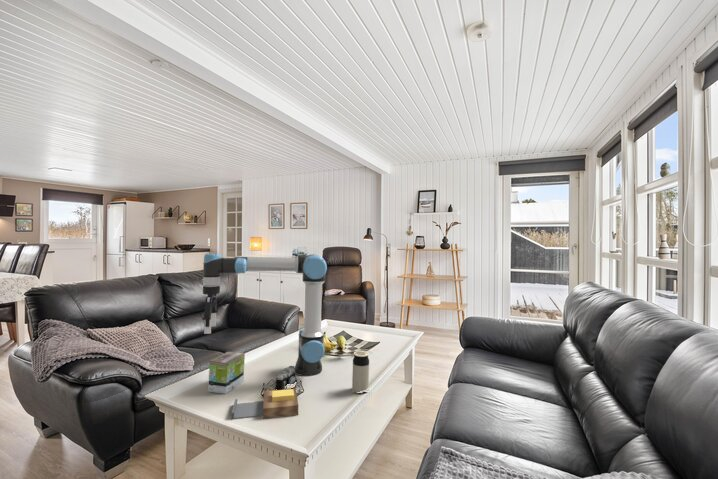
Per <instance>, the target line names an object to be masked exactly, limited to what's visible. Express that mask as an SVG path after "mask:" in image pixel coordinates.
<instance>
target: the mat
mask: <svg viewBox="0 0 718 479" xmlns="http://www.w3.org/2000/svg"><path fill="white" fill-rule="evenodd" d="M263 403H264V400H263V401H262V400H261V401H253V402H252V401H251V402H242V403H238V399H237V398H235V399H234V403H233V406H232V411H231V420H238V419H249V418H254V417H255V418H256V417H257V418H258V417H263Z"/></svg>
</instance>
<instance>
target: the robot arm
mask: <svg viewBox="0 0 718 479" xmlns="http://www.w3.org/2000/svg"><path fill="white" fill-rule="evenodd" d="M203 258H204V259H203V275H202V276H203V278H202V279H201V281H202V284H203V287H202V294H203V295H207V297H205V304H204V306H205V307H204V312H203V317H202V320H203V322H204V327H203V329H204V330H203V334H204V335H206V334H207V335H208V334H209V335H210V334H212V327H216V326H217V313H219V310H218V309H217V308H218V304H217V295H218V294H220V292H221V286H220V285H221V274H237V275H240V274H245V273H247V272H295V273H296V274H302V283H303V284H304V288H305V289H304V290H305V291H304V324H303V326H304V328H301V329H300V330H298V353H297V354H298V355H297V359H296V362H295V365H294V367H295V374H297V375H300V376H308V377H309V376H314V375H315V374H316V375H318V374H317V373H319V372H320V373H322V371H323V364H322V360H321V359H322V358H323V357H324V355H325V352H326V351H325V350H326V349H325V345H324V342H325V341H324V336H325V335H324V332H323V331H322V298H323V285H324V283H325V282H326V273H327V269H328V266H327V262H326V260H325V259H324V258H323V257H321V255H318V254H317V255H316V254H307V255H297V256H295V257H279V256H278V257H271V256H268V257H267V256H233V257H222V255H221V253H206V254H204V255H203ZM320 373H319V374H320Z"/></svg>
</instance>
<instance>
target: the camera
mask: <svg viewBox="0 0 718 479" xmlns="http://www.w3.org/2000/svg"><path fill="white" fill-rule="evenodd" d="M295 382H297V383H298V379H297V378H296V372H295V365H289V366H287V367H286V368H284V369H283V370H282V372H280V374H279V375H276V377H275V390H276V389H277V390H284V389H285V386H286V385H287V384H294V383H295Z"/></svg>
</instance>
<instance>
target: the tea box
mask: <svg viewBox="0 0 718 479" xmlns="http://www.w3.org/2000/svg"><path fill="white" fill-rule="evenodd" d="M245 354H246V353H244V352H235V351H226V352H224V353H222V354H220V355H219V356H217V357H214V358H212V359H211V360H209V368H208V386H207V392H208V393H209V392H210V393H216V394H224V395H226V394H228V393H230V391H232V390H233V389H235V388H236V387H238V386H240V385H241V384H242V383H244V378H245V377H244V376H245V356H246V355H245Z"/></svg>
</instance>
